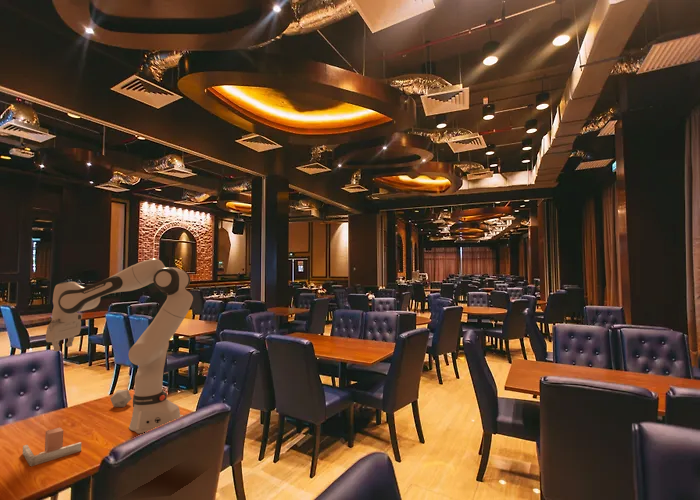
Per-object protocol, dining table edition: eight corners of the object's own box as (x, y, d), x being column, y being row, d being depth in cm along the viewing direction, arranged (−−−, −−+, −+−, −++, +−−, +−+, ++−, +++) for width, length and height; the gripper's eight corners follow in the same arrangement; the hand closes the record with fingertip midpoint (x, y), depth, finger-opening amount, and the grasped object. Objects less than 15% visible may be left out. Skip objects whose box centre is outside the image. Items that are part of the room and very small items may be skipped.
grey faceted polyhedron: (115, 411, 183) (129, 394, 186) (103, 402, 185) (117, 384, 188) (124, 412, 191) (138, 394, 194) (112, 402, 192) (126, 385, 196)
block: (59, 448, 144) (60, 427, 144) (62, 452, 141) (63, 430, 141) (44, 452, 140) (45, 430, 141) (47, 456, 137) (48, 434, 138)
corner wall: (22, 453, 140) (23, 445, 140) (71, 440, 151) (71, 432, 151) (30, 466, 131) (30, 457, 131) (81, 451, 142) (81, 442, 142)
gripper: (58, 320, 158) (56, 353, 157) (84, 315, 178) (83, 344, 177) (41, 320, 157) (40, 354, 156) (69, 315, 177) (68, 344, 176)
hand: (63, 348), depth 167 cm, fingers open, 8 cm apart
